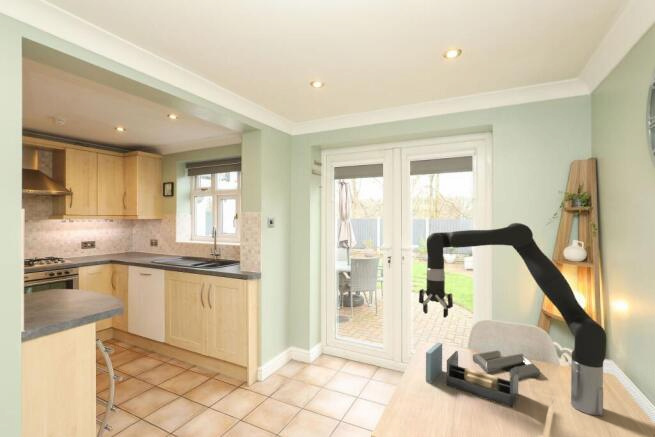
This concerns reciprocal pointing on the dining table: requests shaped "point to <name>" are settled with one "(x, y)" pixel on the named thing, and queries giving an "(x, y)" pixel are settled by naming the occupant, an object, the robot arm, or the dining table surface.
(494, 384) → the offcut long
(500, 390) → the rack
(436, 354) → the blue sheet
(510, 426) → the dining table surface
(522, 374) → the emblem
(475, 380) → the offcut short
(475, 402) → the dining table surface
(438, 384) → the dining table surface
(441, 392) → the dining table surface
